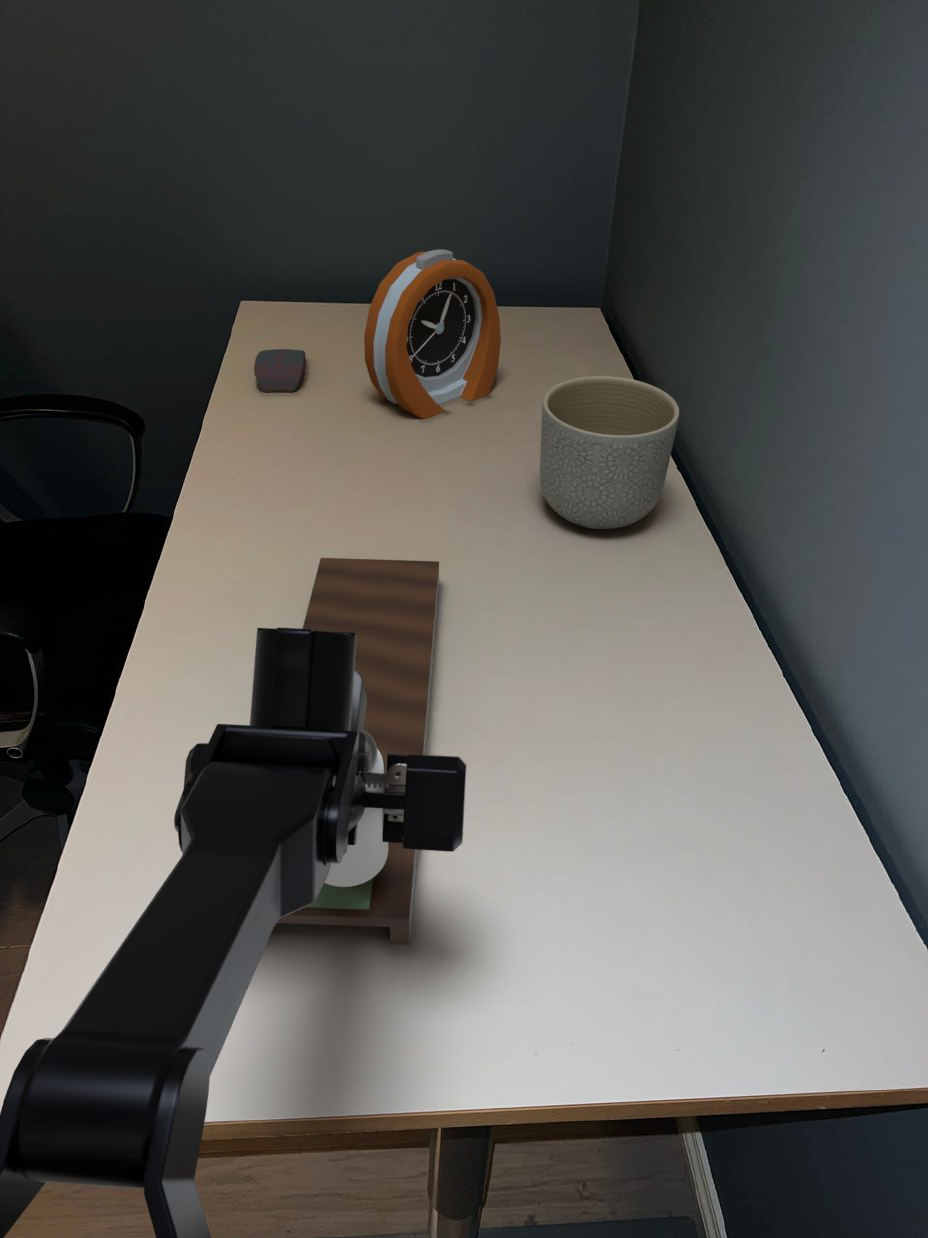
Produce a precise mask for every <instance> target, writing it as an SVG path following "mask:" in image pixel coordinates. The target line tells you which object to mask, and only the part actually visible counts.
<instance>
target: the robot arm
mask: <svg viewBox="0 0 928 1238" xmlns="http://www.w3.org/2000/svg"><path fill="white" fill-rule="evenodd" d="M255 637H256V639H255V650H254V652H255V653H254V664H253V665H254V666H253V677H252V688H251V691H252V692H251V702H250V703H251V704H250V713H249V714H250V715H249V724H231V723H229V724H228V723H217V724H216V726H215V728H214V731H213V732H212V734H211V737H210V739H209V741H208V742H200V743H199V742H198V743H196V744H195V745H194V746H193V747H192V748H191V749H189V751H188V754H187V757H186V760H185V767H184V778H183V788H182V789H183V790H182V792H181V795H180V798H179V801H178V803H177V806H176V809H175V813H174V816H173V817H174V819H173V826H174V829H175V831H176V832H177V839H178V845H179V849H180V852H181V857H180V858H179V860H178V861H177V863H176V864H175V866H174V867H173V868H172V870H171V871H170V872H169V874H168V876H167V877H166V879H164V881H163V883H162V884H161V886H160V887H159V888H158V891H156V892H155V894H154V896H153V898H152V899H151V901H150V902H149V903H148V905H147V906H146V908H145V909H144V911H143V912H142V914H141V915H140V917H139V918H138V919H137V920H136V922H135V924H134V925H133V926H132V928H131V929H130V931H129V932H128V934H127V935H126V937H125V938H124V940H123V941H122V942H121V944H120V946H119V947H118V949H117V950H116V951H115V953H114V954H113V955H112V957H111V959H109V962H108V963H107V964H106V966H105V967H104V969H103V970H102V972H101V973H100V974H99V976H98V978H97V979H96V980H95V982H94V983H93V985H92V986H91V988H90V989H89V990H88V992H87V993H86V995H85V996H84V998H83V999H82V1001H81V1002H80V1003H79V1005H78V1006H77V1008H76V1009H75V1011H74V1012H73V1014H72V1015H71V1016H70V1018H69V1020H68V1021H67V1022H66V1024H65V1025H64V1026H63V1028H62V1030H61V1031H60V1032H59V1033H58V1034H57V1035H56V1036H55V1037H53V1038H52V1037H44V1038H39V1039H36V1040H35V1041H34V1042H33V1043H32V1044H31V1045H30V1046H29V1047H28V1048H27V1049H26V1050H25V1052H24V1053H23V1055H22V1057H21V1058H20V1060H19V1062H18V1063H17V1066H16V1068H15V1069H14V1071H13V1073H12V1076H11V1079H10V1082H9V1084H8V1087H7V1090H6V1093H5V1095H4V1099H3V1102H2V1106H1V1109H0V1238H5V1237H6V1236H7V1235H8V1233H9V1232H10V1230H11V1229H12V1228H13V1226H14V1225H15V1224H16V1223H17V1221H18V1220H19V1218H20V1217H21V1216H22V1215H23V1213H24V1212H25V1211H26V1210H27V1208H28V1207H29V1205H30V1204H31V1203H32V1202H33V1200H34V1199H35V1198H36V1196H37V1195H38V1194H39V1192H40V1191H41V1189H42V1188H43V1187H44V1186H45V1184H47V1183H49V1184H50V1183H51V1184H65V1185H78V1186H92V1187H93V1186H94V1187H105V1188H106V1187H107V1188H123V1189H135V1190H136V1189H137V1190H143V1195H144V1199H145V1202H146V1206H147V1209H148V1214H149V1218H150V1220H151V1224H152V1228H153V1233H154V1235H155V1238H212V1236H211V1235H212V1234H211V1232H210V1229H209V1225H208V1223H207V1219H206V1215H205V1213H204V1209H203V1205H202V1203H201V1199H200V1196H199V1192H198V1189H197V1186H196V1180H195V1178H196V1172H197V1167H198V1161H199V1156H200V1149H201V1144H202V1138H203V1133H204V1127H205V1121H206V1116H207V1109H208V1101H209V1093H210V1078H211V1075H212V1072H213V1070H214V1068H215V1066H216V1064H217V1061H218V1059H219V1057H220V1054H221V1053H222V1050H223V1048H224V1045H225V1042H226V1040H227V1038H228V1036H229V1033H230V1030H231V1028H232V1026H233V1024H234V1021H235V1020H236V1016H237V1014H238V1012H239V1010H240V1008H241V1005H242V1003H243V1000H244V998H245V997H246V993H247V991H248V989H249V986H250V984H251V982H252V979H253V977H254V976H255V975H254V974H255V972H256V970H257V967H258V965H259V964H260V961H261V958H262V956H263V954H264V952H265V949H266V946H267V944H268V942H269V940H270V937H271V935H272V932H273V931H274V928H275V926H276V925H277V924H278V923H277V921H278V920H279V919H280V918H282V917H284V916H287V915H289V914H291V913H293V912H295V911H298V910H300V909H302V908H304V907H306V906H309V905H310V904H311V903H313V902H314V901H315V900H316V898H317V896H318V894H319V892H320V890H321V888H322V886H323V884H324V883H325V881H326V879H327V876H328V874H329V870H330V867H331V863H335V864H340V863H341V861H342V858H343V854H345V853H346V852H347V845H355V844H356V841H357V825H358V822H359V821H360V819H361V817H362V815H363V813H364V810H365V807H366V808H382V842H392V843H403V849H413V850H418V851H436V852H448V853H449V852H452V853H453V852H454V851H456V850H457V849H458V848H459V847H460V846H461V845H462V844H463V841H464V824H465V823H464V822H465V806H466V805H465V802H466V785H467V784H466V783H467V766H468V765H467V764H466V762H464V760H463V759H462V757H460V756H458V755H442V754H441V755H440V754H425V755H424V754H409V755H404V754H387V765H386V773H375V772H368V769H369V753H370V752H365V748H366V736H365V735H364V734H363V729H364V720H365V711H366V705H367V695H366V692H365V688H364V684H363V680H362V677H361V675H360V674H359V673H358V672H357V671H356V670H355V657H356V642H357V634H356V633H351V632H332V631H313V630H312V629H303V628H298V627H297V628H295V627H276V628H268V627H257V628H256V636H255ZM366 783H367V785H368V788H370V787H371V785H372V784H373V786H374V788H376V787H377V784H379V787H380V788H382V787H383V784H384V791H383V792H378V791H366V787H365V785H366Z"/></svg>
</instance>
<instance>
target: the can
mask: <svg viewBox="0 0 928 1238" xmlns="http://www.w3.org/2000/svg"><path fill="white" fill-rule="evenodd" d="M363 734H364V735H365V736H366V748H365V752H370V753H369V769H368V772H375V773H384V764H383V759H382V756H381V754H380V752H379V750H378V749H377V745H376V742H375V740H374V739H373V737H372V736H371V735H370V734H369V733H368V732H367V731H365V730H363ZM365 787H366V791H378V792H383V791H384V784H383V787H382V788H380V787H379V784H377V787H376V788H374V786H373V784H372V785H371V787H370V788H368V785H367V783H366V785H365ZM387 856H388V842H382V808H366V807H365V810H364V813H363V815H362V817H361V819H360V821H359V822H358V825H357V841H356V844H355V845H347V852H346V853H345V854H343V858H342V861H341V863H340V864H335V863H331V867H330V870H329V874H328V876H327V879H326V881H325V883H327V884H329V885H333V886H338V887H350V886H356V885H359V884H362V883H364V882H367V881H368V880H370V879H372V878H373V877H374V876H376V875H377V874H378V873H379V872H380V870H381V869H382V868H383V866H384V864H385V862H386V860H387Z"/></svg>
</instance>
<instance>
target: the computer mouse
mask: <svg viewBox="0 0 928 1238" xmlns="http://www.w3.org/2000/svg"><path fill="white" fill-rule="evenodd" d="M305 367H306V352H305V350H302V349H290V348H274V349H263V350H260V351H259V352H258V353H257V354H256V357H255V359H254V365H253V372H254V377H255V380H256V382H257V384H258V387H259V388H260V390H261V392H263V393H294V392H296V391H297V390H298V389H299V387H300V386H301V384H302V382H303V378H304V374H305V369H306V368H305Z"/></svg>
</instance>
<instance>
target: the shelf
mask: <svg viewBox="0 0 928 1238" xmlns="http://www.w3.org/2000/svg"><path fill="white" fill-rule="evenodd" d="M439 592H440V561H437V560H435V561H434V560H408V559H378V558H377V559H375V558H374V559H373V558H372V559H371V558H346V557H345V558H343V557H342V558H340V557H336V558H335V557H320V558H319V563H318V567H317V570H316V575H315V577H314V582H313V587H312V590H311V593H310V598H309V602H308V606H307V610H306V614H305V617H304V618H305V619H304V621H303V625H302V629H312V630H313V631H332V632H351V633H356V634H357V642H356V657H355V670H356V671H357V672H358V673H359V674H360V675H361V677H362V680H363V684H364V688H365V692H366V695H367V705H366V711H365V720H364V729H363V730H365V731H367V732H368V733H369V734H370V735H371V736H372V737H373V739H374V740H375V742H376V745H377V749H378V750H379V752H380V754H381V756H382V759H383V764H384V773H386V765H387V754H404V755H409V754H424V755H427V754H426V752H427V741H428V729H429V727H428V726H429V715H430V703H431V689H432V680H433V679H432V678H433V668H434V667H433V665H434V653H435V642H436V629H437V628H436V627H437V616H438V615H437V614H438V602H439ZM418 853H419V850H413V849H403V843H392V842H388V856H387V860H386V862H385V864H384V866H383V868H382V869H381V870H380V872H379V873H378V874H377V875H376V876H374V877H373V878H372V879H370V880H368V881H367V882H364V883H362V884H359V885H356V886H350V887H338V886H333V885H329V884H327V883H324V884H323V886H322V888H321V890H320V892H319V894H318V896H317V898H316V900H315V901H314V902H313V903H311V904H310V905H309V906H306V907H304V908H302V909H300V910H298V911H295V912H293V913H291V914H289V915H287V916H284V917H282V918H280V919H279V920H278V921H277V923H276V924H293V925H294V924H296V925H324V926H349V927H350V926H353V927H354V926H355V927H356V926H357V927H378V928H379V927H380V928H382V927H383V928H389V942H390V944H404V945H407V944H408V945H409V944H410V945H411V937H412V927H413V926H412V925H413V915H414V902H415V890H416V878H417V877H416V875H417V867H418V866H417V865H418Z"/></svg>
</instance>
